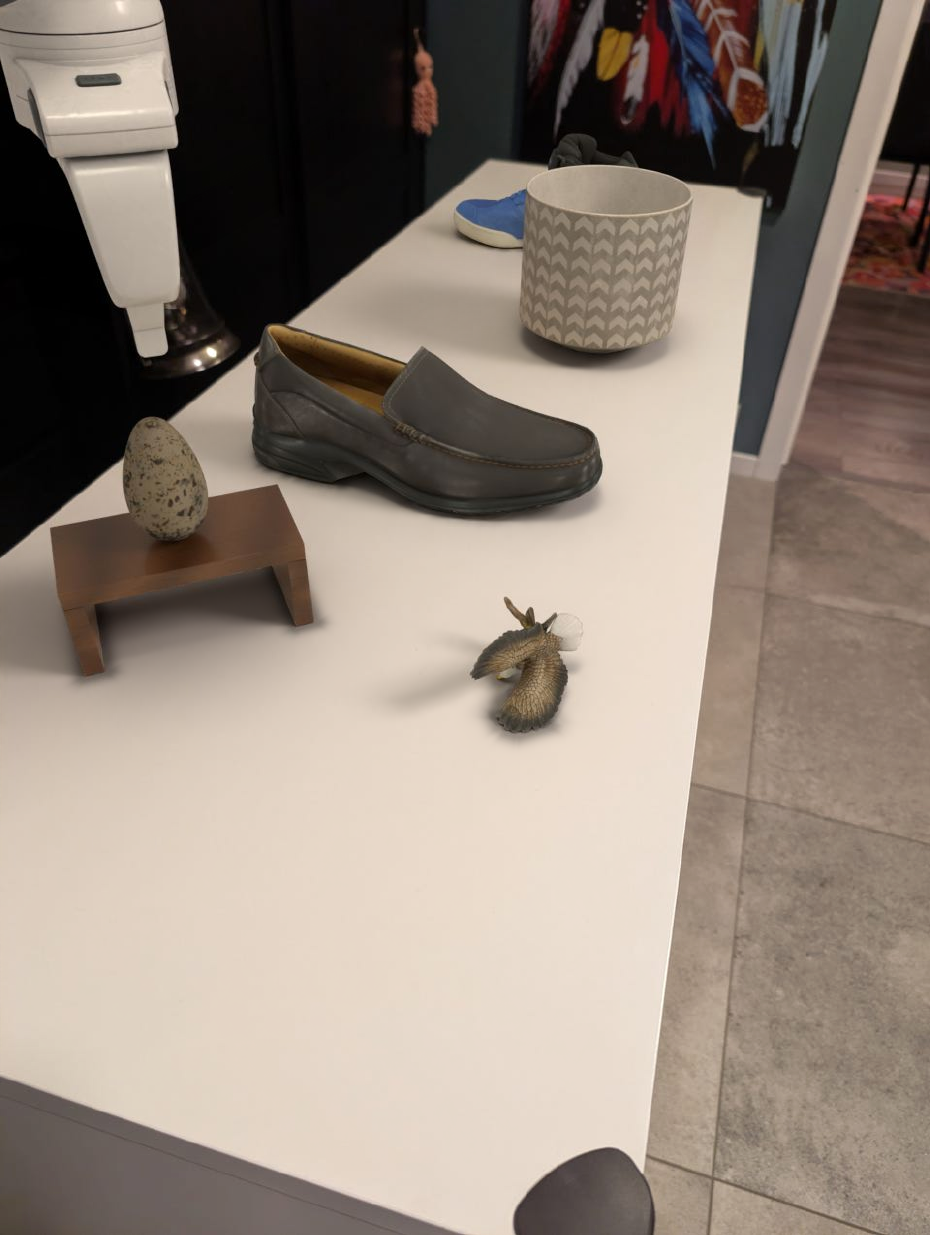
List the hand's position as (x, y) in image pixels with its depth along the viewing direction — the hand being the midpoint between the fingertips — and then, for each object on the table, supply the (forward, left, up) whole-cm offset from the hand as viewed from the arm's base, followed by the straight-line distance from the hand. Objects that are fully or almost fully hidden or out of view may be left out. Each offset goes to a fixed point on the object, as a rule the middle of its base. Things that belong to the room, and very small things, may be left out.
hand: (142, 322), depth 62 cm
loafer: (+24, +16, -26) cm, 39 cm away
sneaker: (+64, +71, -26) cm, 99 cm away
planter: (+55, +38, -26) cm, 72 cm away
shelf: (-1, +1, -26) cm, 26 cm away
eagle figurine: (+21, -16, -26) cm, 37 cm away
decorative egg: (-1, +1, -18) cm, 18 cm away
